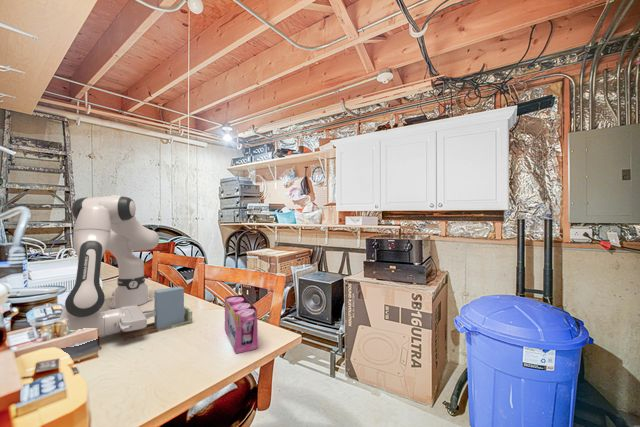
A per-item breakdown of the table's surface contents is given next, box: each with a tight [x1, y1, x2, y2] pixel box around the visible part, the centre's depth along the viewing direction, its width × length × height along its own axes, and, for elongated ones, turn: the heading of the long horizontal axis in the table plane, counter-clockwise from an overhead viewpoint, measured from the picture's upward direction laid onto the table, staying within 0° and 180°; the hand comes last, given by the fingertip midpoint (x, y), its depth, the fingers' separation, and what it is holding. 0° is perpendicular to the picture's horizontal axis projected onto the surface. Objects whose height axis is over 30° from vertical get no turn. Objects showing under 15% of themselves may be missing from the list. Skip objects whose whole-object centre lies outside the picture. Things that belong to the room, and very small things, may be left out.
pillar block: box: [153, 285, 185, 330], centre depth 115 cm, size 5×10×15 cm, turn 132°
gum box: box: [224, 294, 259, 354], centre depth 103 cm, size 24×8×14 cm, turn 28°
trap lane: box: [120, 305, 193, 341], centre depth 112 cm, size 9×24×6 cm, turn 132°
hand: (155, 312), depth 112 cm, fingers closed, pressing on pillar block
